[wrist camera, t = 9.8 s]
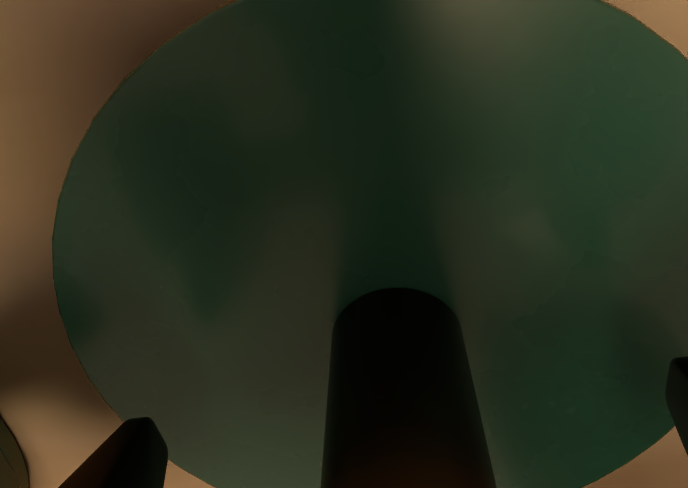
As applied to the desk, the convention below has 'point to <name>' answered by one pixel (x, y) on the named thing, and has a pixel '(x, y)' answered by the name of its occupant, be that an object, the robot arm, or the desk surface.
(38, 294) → the desk surface
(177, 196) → the lid
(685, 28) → the desk surface
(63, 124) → the desk surface
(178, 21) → the desk surface
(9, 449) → the pot
